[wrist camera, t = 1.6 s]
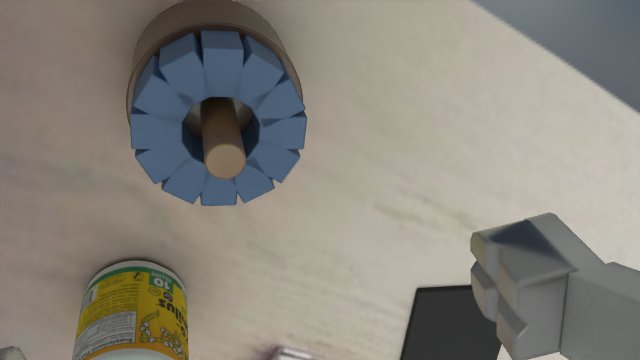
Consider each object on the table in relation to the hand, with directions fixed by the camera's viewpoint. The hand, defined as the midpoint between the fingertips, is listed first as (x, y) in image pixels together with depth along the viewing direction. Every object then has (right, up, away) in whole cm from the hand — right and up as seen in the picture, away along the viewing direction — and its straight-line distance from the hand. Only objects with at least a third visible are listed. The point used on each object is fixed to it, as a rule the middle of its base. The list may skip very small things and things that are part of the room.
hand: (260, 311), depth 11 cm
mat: (+10, -7, +28) cm, 31 cm away
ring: (-3, +5, +13) cm, 14 cm away
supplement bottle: (-9, -4, +22) cm, 24 cm away
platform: (-4, +7, +17) cm, 18 cm away
